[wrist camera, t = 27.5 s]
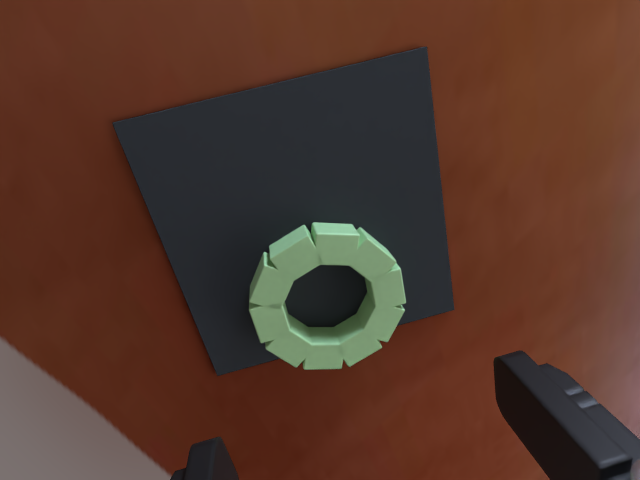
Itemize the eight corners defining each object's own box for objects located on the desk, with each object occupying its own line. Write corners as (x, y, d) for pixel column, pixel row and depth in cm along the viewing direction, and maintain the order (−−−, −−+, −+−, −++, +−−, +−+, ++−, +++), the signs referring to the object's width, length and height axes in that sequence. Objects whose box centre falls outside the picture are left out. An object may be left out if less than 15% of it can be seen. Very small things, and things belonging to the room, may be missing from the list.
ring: (274, 367, 19) (275, 388, 18) (232, 242, 16) (229, 256, 15) (403, 331, 19) (414, 348, 18) (382, 203, 17) (392, 213, 15)
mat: (217, 373, 19) (217, 376, 19) (113, 122, 14) (111, 122, 14) (452, 307, 19) (454, 309, 19) (424, 47, 15) (426, 46, 15)
